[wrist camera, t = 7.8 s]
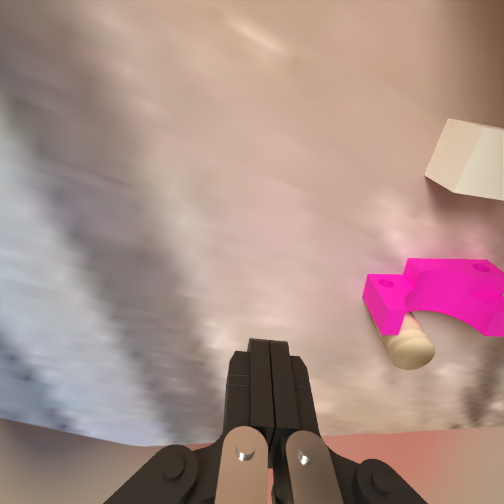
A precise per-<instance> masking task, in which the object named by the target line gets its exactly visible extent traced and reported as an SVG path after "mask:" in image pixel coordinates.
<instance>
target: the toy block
mask: <svg viewBox="0 0 504 504" xmlns="http://www.w3.org/2000/svg"><path fill="white" fill-rule="evenodd" d="M503 293H504V273H503V272H502V271H501V270H500V269H498V268H497V267H496V266H495V265H493V264H492V263H491V262H489V261H488V260H476V259H422V258H408V259H407V263H406V266H405V269H404V273H403V275H397V274H368V275H367V279H366V283H365V288H364V292H363V296H362V297H363V299H364V301H365V303H366V305H367V307H368V309H369V311H370V313H371V315H372V317H373V319H374V321H375V323H376V325H377V327H378V329H379V331H380V333H381V335H399V332H400V329H401V326H402V323H403V320H404V317H405V314H406V313H409V312H412V311H419V310H426V311H435V312H439V313H443V314H447V315H450V316H452V317H455V318H457V319H459V320H462V321H464V322H465V323H467V324H469V325H471V326H472V327H474V328H475V329H476V330H478V331H479V332H480V333H481V334H483V335H484V336H504V297H503V296H502V295H503Z"/></svg>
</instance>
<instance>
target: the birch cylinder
mask: <svg viewBox="0 0 504 504" xmlns="http://www.w3.org/2000/svg"><path fill="white" fill-rule="evenodd" d="M370 315H371V313H370ZM371 319H372V321H373V323H374V325H375V327H376V329H377V331H378V333H379V335H380V337H381V339H382V341H383V343H384V345H385V347H386V349H387V351H388V353H389V355H390V357H391V359H392V361H393V363H394V365H395V366H397V367H398V368H401V369H405V370H412V369H417V368H420V367H422V366H424V365H426V364H427V363H429V362H430V361H431V360H432V358H433V357H434V354H435V348H434V346H433V344H432V343H431V341H430V340H429V338H428V337H427V335H426V334H425V332H424V331H423V330H422V328H421V327H420V325H419V324H418V322H417V321H416V319H415V318H414V316H413V315H412V313H411V312H409V313H406V314H405V317H404V320H403V323H402V326H401V329H400V332H399V335H381V333H380V331H379V329H378V327H377V325H376V323H375V321H374V319H373V317H372V315H371Z"/></svg>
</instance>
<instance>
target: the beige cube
mask: <svg viewBox="0 0 504 504" xmlns="http://www.w3.org/2000/svg"><path fill="white" fill-rule="evenodd" d="M425 176H426V177H428V178H430V179H431V180H433V181H435V182H436V183H438V184H440V185H441V186H443V187H445V188H447V189H448V190H450V191H452V192H453V193H459V194H465V195H472V196H478V197H484V198H491V199H497V200H503V201H504V128H500V127H494V126H489V125H483V124H478V123H472V122H466V121H461V120H455V119H449V118H448V120H447V122H446V125H445V127H444V130H443V132H442V134H441V137H440V139H439V141H438V144H437V146H436V149H435V151H434V153H433V156H432V158H431V160H430V163H429V165H428V167H427V170H426V172H425Z"/></svg>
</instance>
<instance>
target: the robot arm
mask: <svg viewBox="0 0 504 504" xmlns="http://www.w3.org/2000/svg"><path fill="white" fill-rule="evenodd" d="M268 468H272V469H273V478H274V483H273V486H272V491H271V498H272V504H428V503H427V502H426V501H424V499H423V498H421V496H420V495H419V494H418V493H417V492H416V491H415V490H414V489H413V488H411V486H410V485H409V484H407V482H406V481H405V480H403V479H402V477H401V476H399V475H398V473H396V471H394V470H393V469H392V468H391V467H390V466H389V465H387V464H386V463H384V462H382V461H380V460H377V459H367V460H365V461H363V462H362V463H361V464H358V463H356V462H354V461H351V460H349V459H346V458H344V457H342V456H340V455H337V454H336V453H335V452H333V451H332V450H331V449H330V448H329V447H328V446H327V445H326V444H325V442H324V441H323V440H322V438H321V435H320V433H319V429H318V423H317V418H316V413H315V408H314V403H313V397H312V392H311V387H310V382H309V376H308V371H307V367H306V366H305V364H304V362H303V361H302V359H301V358H300V356H290V354H289V347H288V342H286V341H275V340H269V341H268V340H263V339H253V338H250V339H249V344H248V349H247V352H243V351H235V353H234V355H233V356H232V358H231V360H230V363H229V370H228V376H227V383H226V394H225V408H224V422H223V433H222V435H221V436H220V438H219V439H218V440H217V441H216V442H215V443H213V444H212V445H210V446H208V447H205V448H201V449H198V450H194V451H191V450H190V449H189V448H187V447H185V446H183V445H177V444H176V445H169V446H167V447H164V448H163V449H161V450H160V451H158V452H157V453H156V454H155V455H154V456H153V457H152V458H151V459H150V460H149V461H148V462H147V463H146V464H144V465H143V466H142V468H140V469H139V470H138V471H137V472H136V473H135V474H134V475H133V476H132V477H131V478H130V479H129V480H128V481H126V483H124V484H123V485H122V486H121V487H120V488H119V489H118V490H117V491H116V492H115V493H114V494H113V495H112V496H111V497H110V498H109V499H107V500H106V501H105V502H104V503H103V504H267V474H268V472H267V471H268Z"/></svg>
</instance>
